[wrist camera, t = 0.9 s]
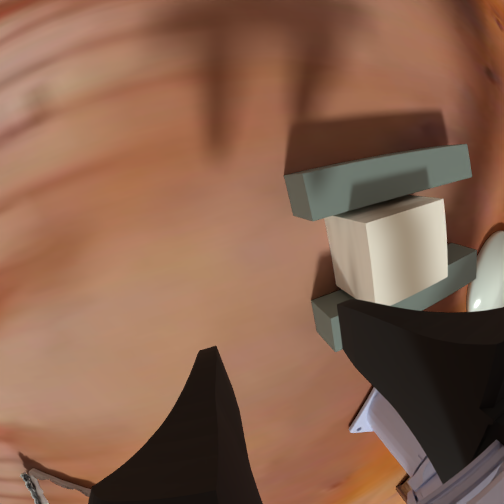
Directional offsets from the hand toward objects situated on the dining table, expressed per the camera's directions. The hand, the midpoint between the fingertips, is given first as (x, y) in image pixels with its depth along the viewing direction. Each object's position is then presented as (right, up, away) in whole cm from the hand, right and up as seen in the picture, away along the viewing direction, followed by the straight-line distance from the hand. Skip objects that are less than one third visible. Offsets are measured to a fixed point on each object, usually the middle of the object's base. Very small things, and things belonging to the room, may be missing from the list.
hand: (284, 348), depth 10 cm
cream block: (+7, +4, +9) cm, 12 cm away
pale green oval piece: (+25, 0, +14) cm, 29 cm away
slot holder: (+9, +5, +10) cm, 14 cm away
